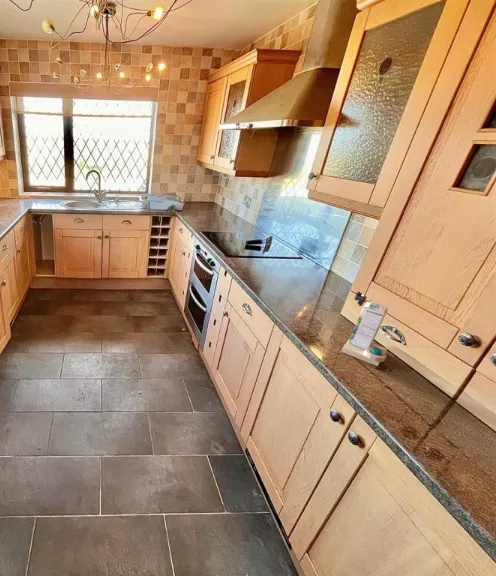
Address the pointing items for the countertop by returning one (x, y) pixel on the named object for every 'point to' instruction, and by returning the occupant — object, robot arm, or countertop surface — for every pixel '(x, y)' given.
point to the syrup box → (368, 325)
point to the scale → (365, 353)
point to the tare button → (376, 351)
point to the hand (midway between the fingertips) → (375, 308)
